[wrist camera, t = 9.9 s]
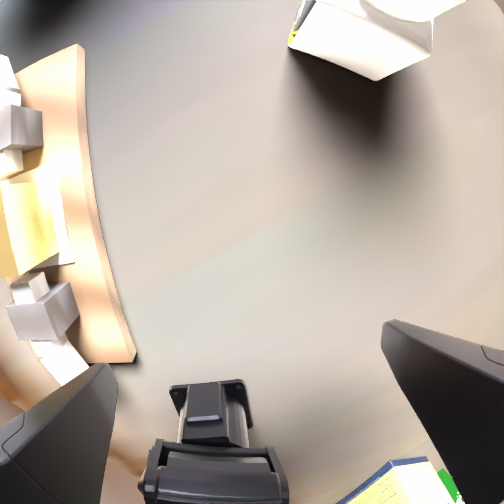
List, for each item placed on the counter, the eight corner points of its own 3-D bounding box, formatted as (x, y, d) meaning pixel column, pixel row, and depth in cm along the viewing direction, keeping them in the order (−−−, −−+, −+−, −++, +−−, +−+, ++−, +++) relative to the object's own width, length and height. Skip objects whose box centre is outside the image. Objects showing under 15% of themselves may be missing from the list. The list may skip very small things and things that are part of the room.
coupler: (46, 180, 15) (1, 186, 11) (59, 250, 17) (19, 275, 12) (9, 193, 15) (-35, 203, 10) (22, 258, 17) (-18, 281, 12)
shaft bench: (140, 362, 22) (125, 405, 17) (50, 362, 21) (26, 396, 16) (85, 39, 14) (54, 12, 9) (-5, 85, 14) (-43, 76, 9)
